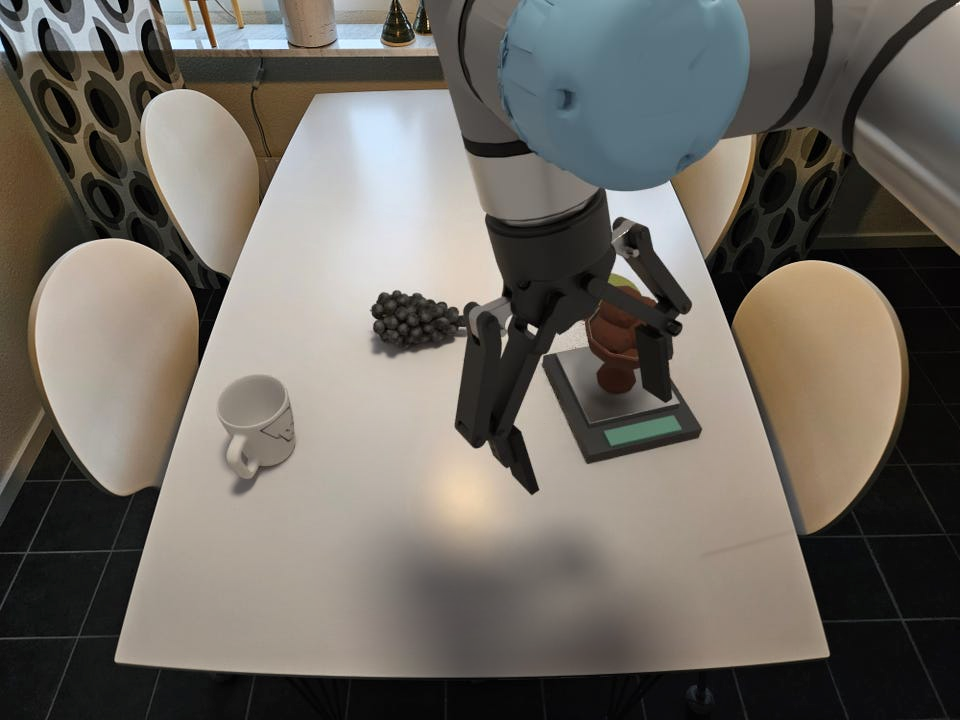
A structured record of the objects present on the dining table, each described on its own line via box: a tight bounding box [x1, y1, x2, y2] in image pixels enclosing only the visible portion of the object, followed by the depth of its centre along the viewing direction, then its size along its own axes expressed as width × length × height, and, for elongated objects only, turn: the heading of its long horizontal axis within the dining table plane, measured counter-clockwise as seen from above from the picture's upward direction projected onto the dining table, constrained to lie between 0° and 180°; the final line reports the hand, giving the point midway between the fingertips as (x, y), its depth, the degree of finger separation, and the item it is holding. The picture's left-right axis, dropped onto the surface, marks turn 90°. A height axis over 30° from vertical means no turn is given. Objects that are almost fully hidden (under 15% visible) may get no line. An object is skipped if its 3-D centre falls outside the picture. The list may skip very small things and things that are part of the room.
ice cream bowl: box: [584, 286, 658, 393], centre depth 84 cm, size 11×11×15 cm
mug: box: [215, 373, 296, 480], centre depth 80 cm, size 11×8×10 cm
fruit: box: [369, 289, 466, 350], centre depth 96 cm, size 9×8×15 cm
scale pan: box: [555, 346, 680, 428], centre depth 90 cm, size 13×13×1 cm
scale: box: [542, 345, 703, 464], centre depth 90 cm, size 18×16×3 cm
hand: (593, 436), depth 52 cm, fingers open, 13 cm apart
